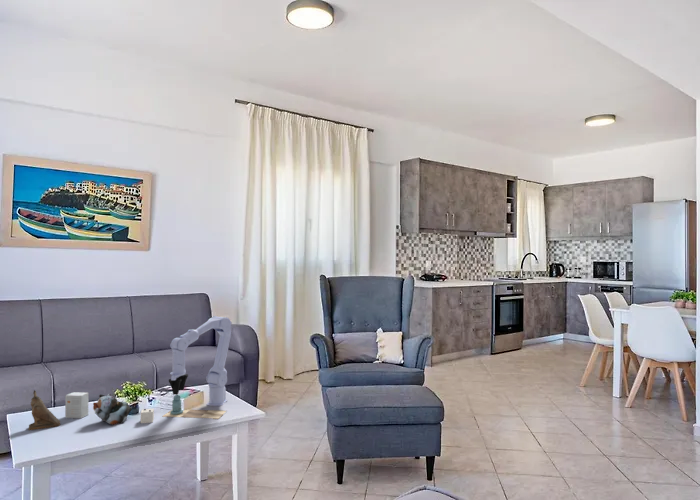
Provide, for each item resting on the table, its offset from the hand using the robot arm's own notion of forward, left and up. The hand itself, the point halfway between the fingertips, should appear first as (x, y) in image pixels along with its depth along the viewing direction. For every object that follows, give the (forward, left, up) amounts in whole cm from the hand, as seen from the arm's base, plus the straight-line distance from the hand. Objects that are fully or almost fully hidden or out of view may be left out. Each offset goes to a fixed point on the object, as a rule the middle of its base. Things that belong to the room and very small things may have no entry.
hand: (178, 392), depth 238 cm
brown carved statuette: (+23, -50, -11) cm, 56 cm away
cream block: (+12, -9, -10) cm, 18 cm away
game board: (-1, +8, -10) cm, 13 cm away
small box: (+8, -45, -11) cm, 47 cm away
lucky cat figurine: (+13, -25, -11) cm, 30 cm away
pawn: (-1, -1, -10) cm, 10 cm away
